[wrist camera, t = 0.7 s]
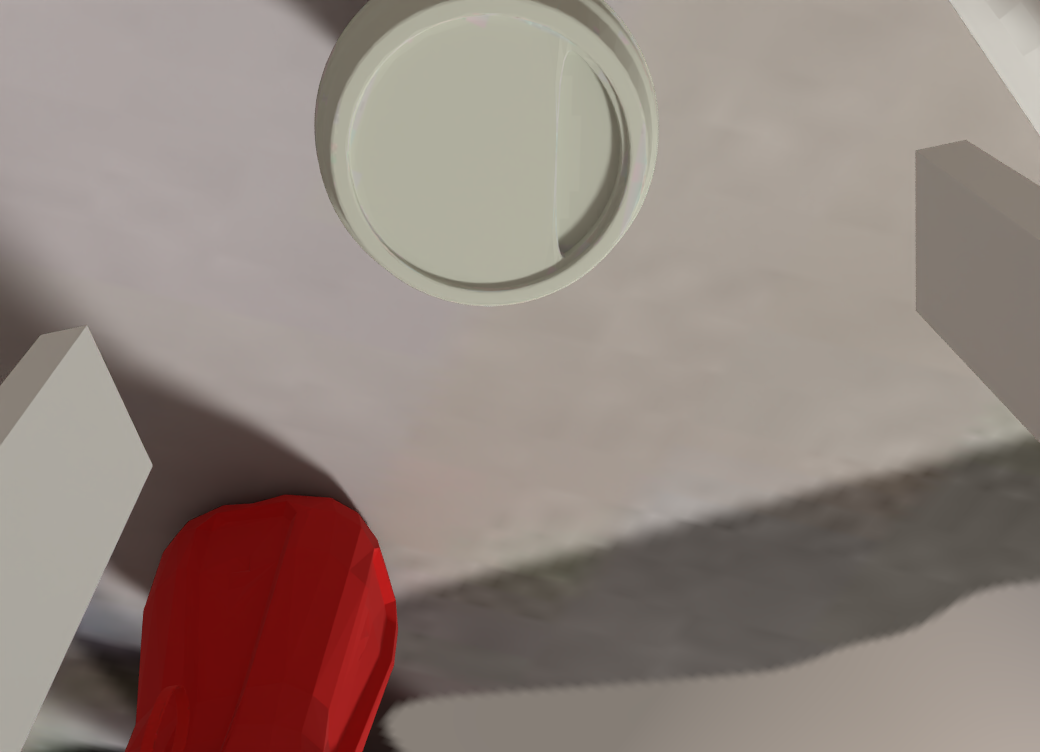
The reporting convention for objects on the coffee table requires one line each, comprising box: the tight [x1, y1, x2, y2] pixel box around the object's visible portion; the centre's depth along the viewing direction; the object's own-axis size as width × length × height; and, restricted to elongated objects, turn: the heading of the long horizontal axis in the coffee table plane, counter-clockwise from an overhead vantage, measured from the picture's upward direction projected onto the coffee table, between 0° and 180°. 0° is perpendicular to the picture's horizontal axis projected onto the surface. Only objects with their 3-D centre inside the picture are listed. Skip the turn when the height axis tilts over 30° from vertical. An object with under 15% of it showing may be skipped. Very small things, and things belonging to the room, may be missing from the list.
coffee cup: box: [315, 0, 658, 306], centre depth 28 cm, size 8×9×12 cm
